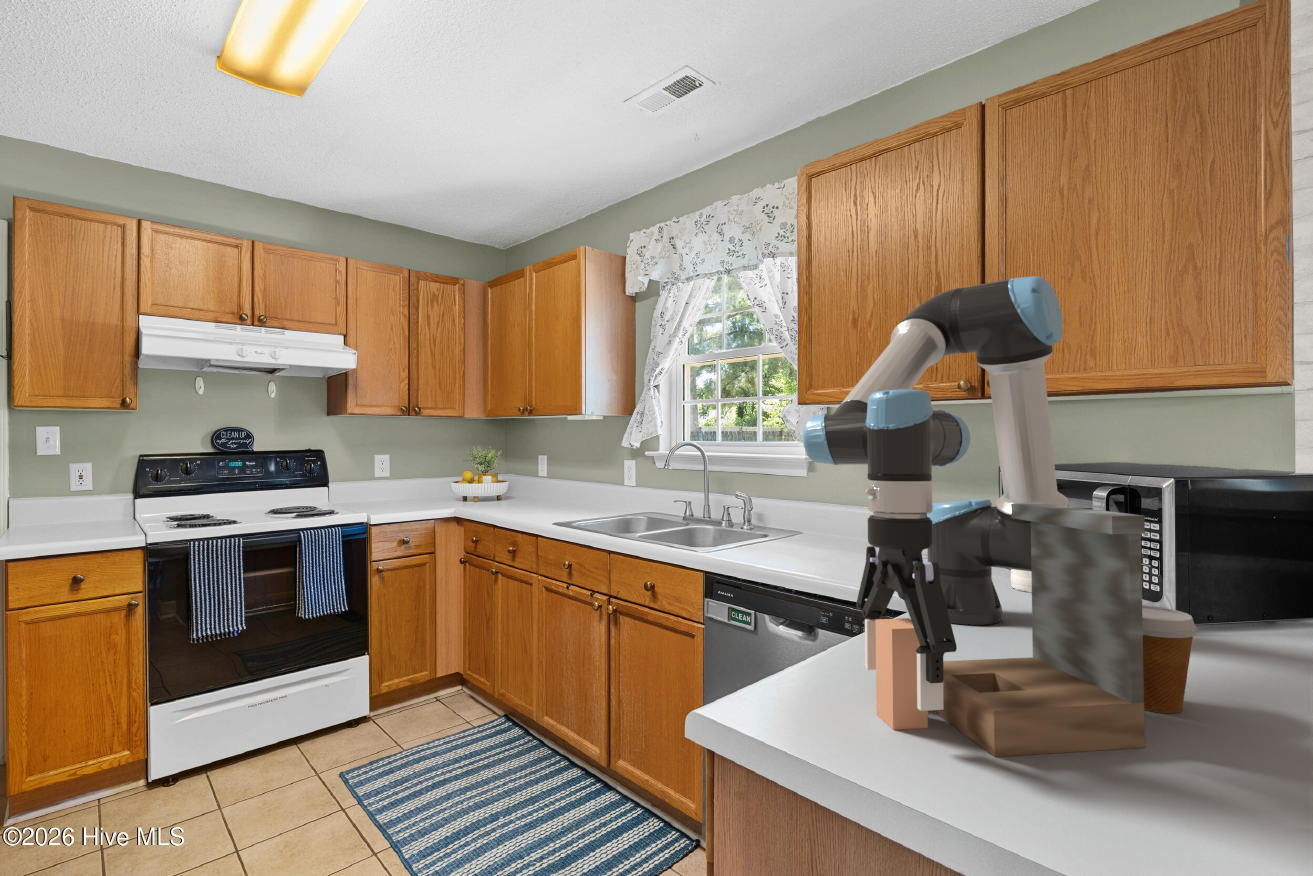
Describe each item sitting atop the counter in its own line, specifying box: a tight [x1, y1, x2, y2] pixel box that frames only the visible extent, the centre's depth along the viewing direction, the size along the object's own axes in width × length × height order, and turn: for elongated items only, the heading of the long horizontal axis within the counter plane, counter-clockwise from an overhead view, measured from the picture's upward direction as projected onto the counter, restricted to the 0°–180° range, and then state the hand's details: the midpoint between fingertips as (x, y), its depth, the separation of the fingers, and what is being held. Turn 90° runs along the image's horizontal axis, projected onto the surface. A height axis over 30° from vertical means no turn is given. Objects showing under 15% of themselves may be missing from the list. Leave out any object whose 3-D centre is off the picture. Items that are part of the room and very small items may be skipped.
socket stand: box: [932, 503, 1146, 758], centre depth 79 cm, size 17×18×26 cm
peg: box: [875, 617, 929, 731], centre depth 80 cm, size 4×4×12 cm
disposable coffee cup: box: [1142, 604, 1198, 714], centre depth 85 cm, size 10×10×12 cm
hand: (900, 687), depth 80 cm, fingers open, 13 cm apart
